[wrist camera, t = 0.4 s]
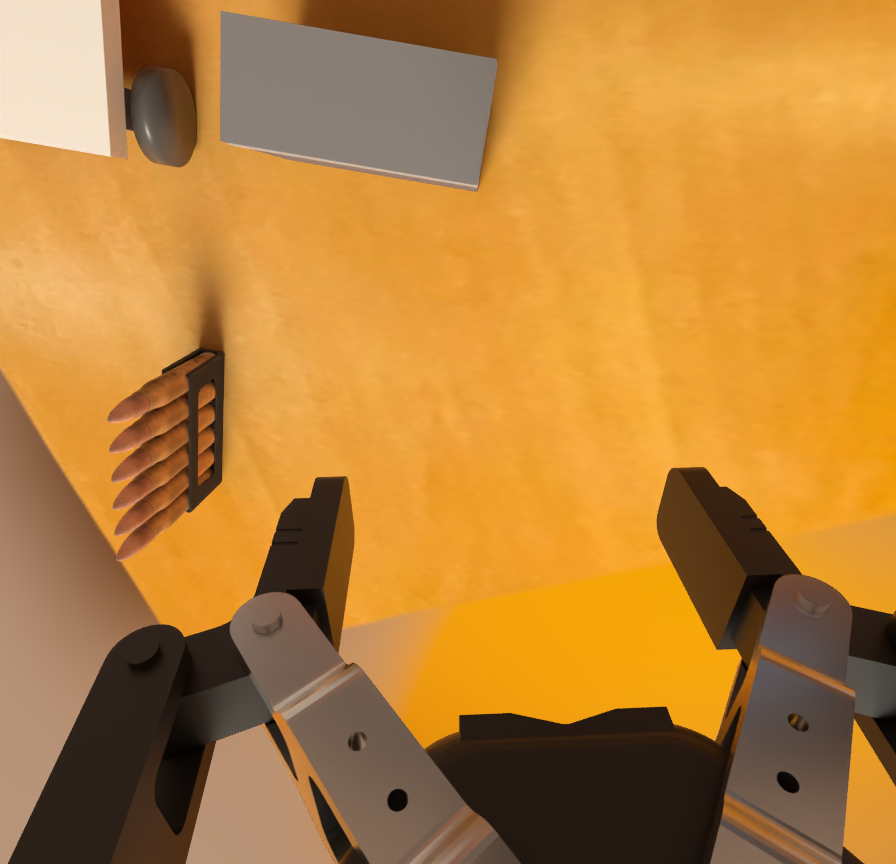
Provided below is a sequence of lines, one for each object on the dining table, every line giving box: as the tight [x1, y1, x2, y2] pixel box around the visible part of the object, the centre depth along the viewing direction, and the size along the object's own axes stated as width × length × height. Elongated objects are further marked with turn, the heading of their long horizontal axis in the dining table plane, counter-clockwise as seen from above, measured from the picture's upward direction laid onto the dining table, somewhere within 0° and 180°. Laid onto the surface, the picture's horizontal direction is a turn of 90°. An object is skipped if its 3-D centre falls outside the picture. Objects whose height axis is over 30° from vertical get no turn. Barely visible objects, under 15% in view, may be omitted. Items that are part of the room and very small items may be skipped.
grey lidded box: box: [220, 11, 498, 192], centre depth 29 cm, size 5×12×10 cm, turn 81°
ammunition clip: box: [107, 348, 225, 561], centre depth 36 cm, size 11×2×12 cm, turn 170°
